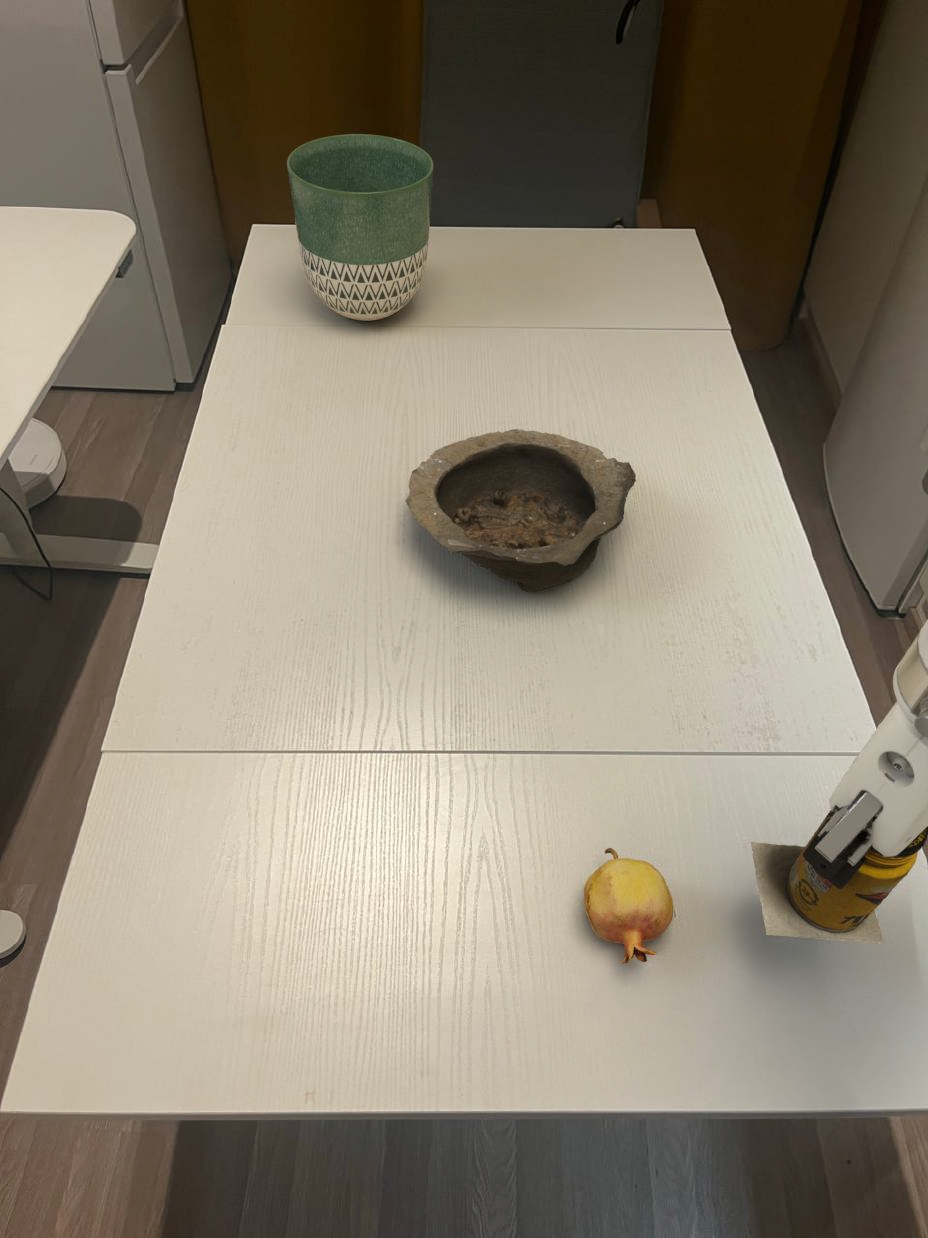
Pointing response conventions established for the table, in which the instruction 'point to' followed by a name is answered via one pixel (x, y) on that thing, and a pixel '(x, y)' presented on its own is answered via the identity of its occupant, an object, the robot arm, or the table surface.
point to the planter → (362, 220)
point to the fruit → (628, 904)
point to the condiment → (826, 891)
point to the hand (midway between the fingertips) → (853, 841)
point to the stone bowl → (521, 503)
